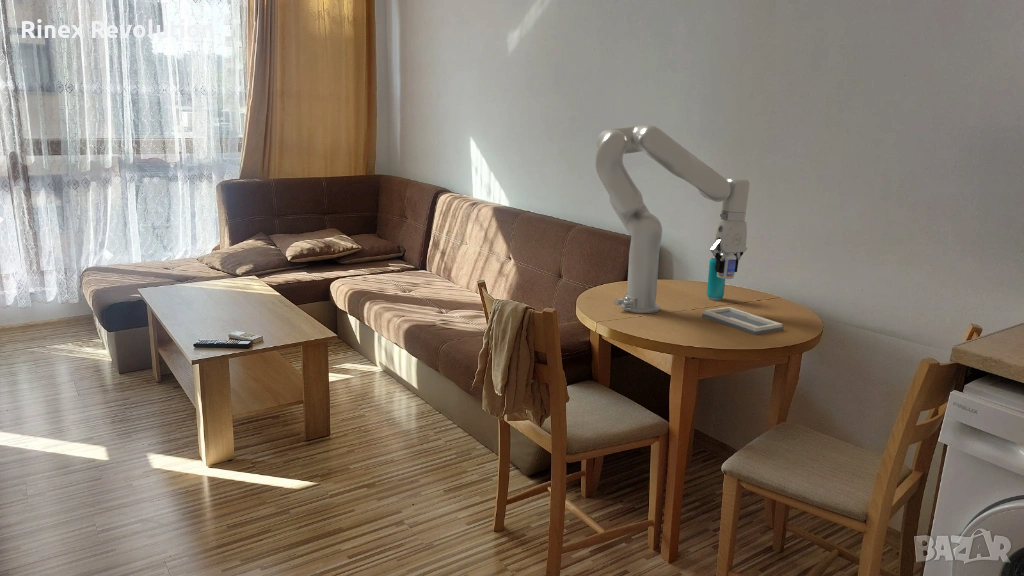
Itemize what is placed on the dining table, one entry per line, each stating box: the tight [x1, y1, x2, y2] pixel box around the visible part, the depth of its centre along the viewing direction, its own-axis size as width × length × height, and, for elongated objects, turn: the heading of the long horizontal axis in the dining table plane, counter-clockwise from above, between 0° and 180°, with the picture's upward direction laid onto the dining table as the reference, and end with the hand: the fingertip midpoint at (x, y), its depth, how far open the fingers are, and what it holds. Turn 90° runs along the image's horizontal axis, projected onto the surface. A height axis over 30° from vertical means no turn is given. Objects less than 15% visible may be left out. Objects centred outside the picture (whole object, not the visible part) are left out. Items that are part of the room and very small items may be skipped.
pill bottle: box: [717, 252, 736, 280], centre depth 243 cm, size 5×5×10 cm
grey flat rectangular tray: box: [701, 306, 784, 336], centre depth 232 cm, size 12×22×2 cm, turn 29°
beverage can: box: [706, 255, 726, 301], centre depth 260 cm, size 6×6×15 cm
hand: (725, 271), depth 244 cm, fingers closed on pill bottle, 5 cm apart
